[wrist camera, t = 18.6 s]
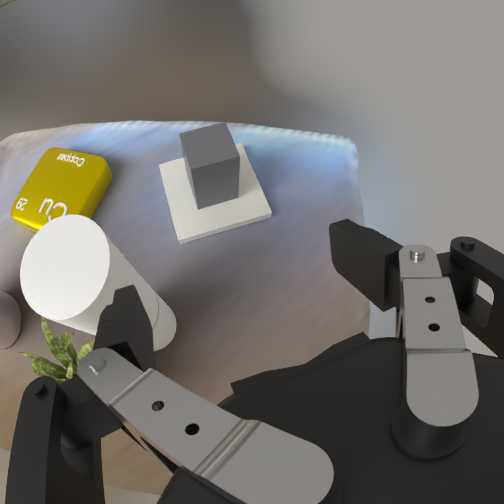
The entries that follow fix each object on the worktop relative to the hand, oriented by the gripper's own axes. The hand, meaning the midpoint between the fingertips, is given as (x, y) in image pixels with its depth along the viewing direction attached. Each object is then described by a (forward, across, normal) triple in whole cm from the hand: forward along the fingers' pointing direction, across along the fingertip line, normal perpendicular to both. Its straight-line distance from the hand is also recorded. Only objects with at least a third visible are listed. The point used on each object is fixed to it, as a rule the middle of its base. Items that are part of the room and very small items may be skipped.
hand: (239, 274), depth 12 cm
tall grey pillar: (+37, -4, +5) cm, 37 cm away
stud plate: (+38, -4, +6) cm, 38 cm away
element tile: (+44, +21, 0) cm, 49 cm away
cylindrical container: (+26, +10, +18) cm, 33 cm away
